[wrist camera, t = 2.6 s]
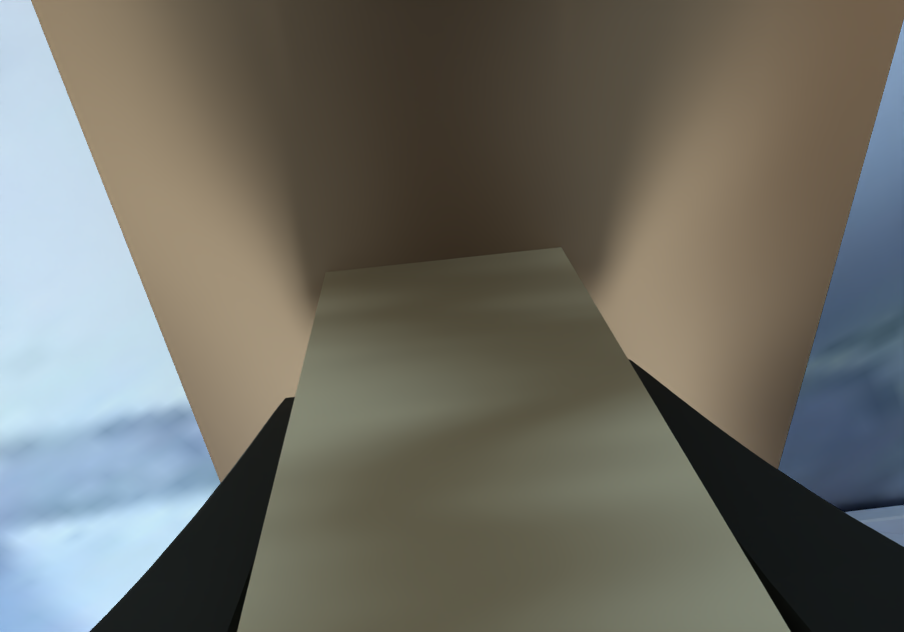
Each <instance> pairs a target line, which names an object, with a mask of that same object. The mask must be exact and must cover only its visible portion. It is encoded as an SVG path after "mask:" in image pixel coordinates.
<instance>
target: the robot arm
mask: <svg viewBox="0 0 904 632" xmlns="http://www.w3.org/2000/svg"><path fill="white" fill-rule="evenodd" d="M628 360H629V362H630V363H631V365H632V367H633V368H634V370H635V372H636V373H637V375H638V377H639V378H640V380H641V382H642V383H643V385H644V387H645V388H646V390H647V392H648V393H649V395H650V397H651V398H652V400H653V402H654V403H655V405H656V407H657V408H658V410H659V412H660V413H661V415H662V417H663V418H664V420H665V422H666V423H667V425H668V427H669V429H670V430H671V432H672V434H673V435H674V437H675V439H676V440H677V442H678V444H679V445H680V447H681V449H682V450H683V452H684V454H685V455H686V457H687V459H688V460H689V462H690V464H691V465H692V467H693V469H694V470H695V472H696V474H697V475H698V477H699V479H700V480H701V482H702V484H703V485H704V487H705V489H706V490H707V492H708V494H709V495H710V497H711V499H712V501H713V502H714V504H715V506H716V507H717V509H718V511H719V512H720V514H721V516H722V517H723V519H724V521H725V522H726V524H727V526H728V527H729V529H730V531H731V532H732V534H733V536H734V537H735V539H736V541H737V542H738V544H739V546H740V547H741V549H742V551H743V552H744V554H745V556H746V557H747V559H748V561H749V562H750V564H751V566H752V567H753V569H754V571H755V573H756V574H757V576H758V578H759V579H760V581H761V583H762V584H763V586H764V588H765V589H766V591H767V593H768V594H769V596H770V598H771V599H772V601H773V603H774V604H775V606H776V608H777V609H778V611H779V613H780V614H781V616H782V618H783V619H784V621H785V623H786V624H787V626H788V628H789V629H790V631H791V632H904V505H899V506H890V507H882V508H874V509H865V510H857V511H849V512H843V511H841V510H840V509H838V508H837V507H835V506H833V505H832V504H830V503H828V502H827V501H825V500H824V499H822V498H820V497H819V496H817V495H816V494H814V493H813V492H811V491H810V490H808V489H807V488H805V487H804V486H802V485H801V484H799V483H798V482H796V481H795V480H793V479H792V478H790V477H789V476H787V475H785V474H784V473H782V472H781V471H779V470H778V469H776V468H775V467H773V466H772V465H770V464H769V463H768V462H766V461H765V460H763V459H762V458H760V457H759V456H757V455H756V454H755V453H753V452H752V451H750V450H749V449H747V448H746V447H745V446H743V445H742V444H741V443H739V442H738V441H736V440H735V439H734V438H732V437H731V436H729V435H728V434H727V433H725V432H724V431H723V430H721V429H720V428H719V427H717V426H716V425H715V424H713V423H712V422H711V421H709V420H708V419H707V418H705V417H704V416H703V415H701V414H700V413H699V412H697V411H696V410H695V409H693V408H692V407H691V406H690V405H688V404H687V403H686V402H684V401H683V400H682V399H681V398H679V397H678V396H677V395H675V394H674V393H673V392H672V391H670V390H669V389H668V388H666V387H665V386H664V385H663V384H661V383H660V382H659V381H658V380H656V379H655V378H654V377H652V376H651V375H650V374H649V373H647V372H646V371H645V370H643V369H642V368H641V367H640V366H638V365H637V364H636V363H634V362H633V361H632V360H630V359H628ZM294 399H295V397H290V398H285V399H284V400H283V401H282V403H281V404H280V405H279V406H278V407H277V409H276V410H275V411H274V413H273V414H272V415H271V417H270V418H269V420H268V421H267V422H266V424H265V425H264V426H263V428H262V429H261V430H260V432H259V433H258V435H257V436H256V437H255V439H254V440H253V441H252V443H251V444H250V445H249V447H248V448H247V449H246V451H245V452H244V453H243V455H242V456H241V457H240V459H239V460H238V461H237V463H236V464H235V465H234V467H233V468H232V469H231V471H230V472H229V473H228V474H227V476H226V477H225V478H224V479H223V481H222V482H221V483H220V485H219V486H218V487H217V488H216V490H215V491H214V492H213V494H212V495H211V496H210V497H209V499H208V500H207V501H206V502H205V504H204V505H203V506H202V507H201V509H200V510H199V511H198V512H197V514H196V515H195V516H194V517H193V518H192V520H191V521H190V522H189V523H188V524H187V526H186V527H185V528H184V529H183V530H182V531H181V532H180V534H179V535H178V536H177V537H176V538H175V539H174V541H173V542H172V543H171V544H170V545H169V546H168V548H167V549H166V550H165V551H164V552H163V553H162V555H161V556H160V557H159V558H158V559H157V560H156V562H155V563H154V564H153V565H152V566H151V567H150V568H149V570H148V571H147V572H146V573H145V574H144V575H143V576H142V577H141V578H140V579H139V581H138V582H137V583H136V584H135V585H134V586H133V587H132V588H131V589H130V590H129V591H128V592H127V594H126V595H125V596H124V597H123V598H122V599H121V600H120V601H119V602H118V603H117V604H116V605H115V606H114V607H113V608H112V609H111V610H110V612H109V613H108V614H107V615H106V616H105V617H104V618H103V619H102V620H101V621H100V622H99V623H98V624H97V625H96V626H95V627H94V628H93V629H92V630H91V631H90V632H237V630H238V626H239V622H240V618H241V614H242V610H243V605H244V601H245V597H246V593H247V589H248V585H249V581H250V577H251V573H252V569H253V565H254V561H255V557H256V553H257V549H258V545H259V541H260V537H261V532H262V528H263V524H264V520H265V516H266V512H267V508H268V504H269V500H270V496H271V492H272V488H273V484H274V480H275V476H276V472H277V468H278V464H279V459H280V455H281V451H282V447H283V443H284V439H285V435H286V431H287V427H288V423H289V419H290V415H291V411H292V407H293V403H294Z"/></svg>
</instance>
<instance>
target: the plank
mask: <svg viewBox="0 0 904 632" xmlns="http://www.w3.org/2000/svg"><path fill="white" fill-rule="evenodd" d="M31 1H32V4H33V6H34V9H35V12H36V14H37V17H38V19H39V22H40V24H41V27H42V29H43V32H44V34H45V37H46V40H47V42H48V45H49V47H50V50H51V52H52V55H53V57H54V60H55V62H56V65H57V68H58V70H59V73H60V75H61V78H62V80H63V83H64V85H65V88H66V90H67V93H68V96H69V98H70V101H71V103H72V106H73V108H74V111H75V113H76V116H77V118H78V121H79V123H80V126H81V129H82V131H83V134H84V136H85V139H86V141H87V144H88V146H89V149H90V151H91V154H92V157H93V159H94V162H95V164H96V167H97V169H98V172H99V174H100V177H101V179H102V182H103V185H104V187H105V190H106V192H107V195H108V197H109V200H110V202H111V205H112V207H113V210H114V213H115V215H116V218H117V220H118V223H119V225H120V228H121V230H122V233H123V235H124V238H125V241H126V243H127V246H128V248H129V251H130V253H131V256H132V258H133V261H134V263H135V266H136V269H137V271H138V274H139V276H140V279H141V281H142V284H143V286H144V289H145V291H146V294H147V297H148V299H149V302H150V304H151V307H152V309H153V312H154V314H155V317H156V319H157V322H158V325H159V327H160V330H161V332H162V335H163V337H164V340H165V342H166V345H167V347H168V350H169V352H170V355H171V358H172V360H173V363H174V365H175V368H176V370H177V373H178V375H179V378H180V380H181V383H182V386H183V388H184V391H185V393H186V396H187V398H188V401H189V403H190V406H191V408H192V411H193V414H194V416H195V419H196V421H197V424H198V426H199V429H200V431H201V434H202V436H203V439H204V442H205V444H206V447H207V449H208V452H209V454H210V457H211V459H212V462H213V464H214V467H215V470H216V472H217V475H218V477H219V480H220V482H222V481H223V479H224V478H225V477H226V476H227V474H228V473H229V472H230V471H231V469H232V468H233V467H234V465H235V464H236V463H237V461H238V460H239V459H240V457H241V456H242V455H243V453H244V452H245V451H246V449H247V448H248V447H249V445H250V444H251V443H252V441H253V440H254V439H255V437H256V436H257V435H258V433H259V432H260V430H261V429H262V428H263V426H264V425H265V424H266V422H267V421H268V420H269V418H270V417H271V415H272V414H273V413H274V411H275V410H276V409H277V407H278V406H279V405H280V404H281V403H282V401H283V400H284V399H285V398H290V397H295V395H296V391H297V386H298V382H299V378H300V374H301V370H302V366H303V362H304V358H305V354H306V350H307V346H308V342H309V338H310V334H311V330H312V326H313V322H314V318H315V313H316V309H317V305H318V301H319V297H320V293H321V289H322V285H323V281H324V277H325V273H326V272H333V271H343V270H352V269H361V268H371V267H380V266H390V265H399V264H408V263H418V262H427V261H436V260H446V259H455V258H465V257H474V256H483V255H493V254H502V253H511V252H521V251H530V250H540V249H549V248H558V247H561V248H562V249H563V251H564V253H565V254H566V256H567V258H568V259H569V261H570V263H571V264H572V266H573V268H574V269H575V271H576V273H577V274H578V276H579V278H580V280H581V281H582V283H583V285H584V286H585V288H586V290H587V291H588V293H589V295H590V296H591V298H592V300H593V301H594V303H595V305H596V306H597V308H598V310H599V311H600V313H601V315H602V316H603V318H604V320H605V321H606V323H607V325H608V326H609V328H610V330H611V331H612V333H613V335H614V336H615V338H616V340H617V341H618V343H619V345H620V346H621V348H622V350H623V352H624V353H625V355H626V357H627V358H628V359H630V360H632V361H633V362H634V363H636V364H637V365H638V366H640V367H641V368H642V369H643V370H645V371H646V372H647V373H649V374H650V375H651V376H652V377H654V378H655V379H656V380H658V381H659V382H660V383H661V384H663V385H664V386H665V387H666V388H668V389H669V390H670V391H672V392H673V393H674V394H675V395H677V396H678V397H679V398H681V399H682V400H683V401H684V402H686V403H687V404H688V405H690V406H691V407H692V408H693V409H695V410H696V411H697V412H699V413H700V414H701V415H703V416H704V417H705V418H707V419H708V420H709V421H711V422H712V423H713V424H715V425H716V426H717V427H719V428H720V429H721V430H723V431H724V432H725V433H727V434H728V435H729V436H731V437H732V438H734V439H735V440H736V441H738V442H739V443H741V444H742V445H743V446H745V447H746V448H747V449H749V450H750V451H752V452H753V453H755V454H756V455H757V456H759V457H760V458H762V459H763V460H765V461H766V462H768V463H769V464H770V465H772V466H773V467H775V468H776V469H778V467H779V464H780V460H781V456H782V453H783V449H784V446H785V442H786V439H787V435H788V431H789V428H790V424H791V421H792V417H793V413H794V410H795V406H796V403H797V399H798V396H799V392H800V388H801V385H802V381H803V378H804V374H805V371H806V367H807V363H808V360H809V356H810V353H811V349H812V345H813V342H814V338H815V335H816V331H817V328H818V324H819V320H820V317H821V313H822V310H823V306H824V303H825V299H826V295H827V292H828V288H829V285H830V281H831V277H832V274H833V270H834V267H835V263H836V260H837V256H838V252H839V249H840V245H841V242H842V238H843V235H844V231H845V227H846V224H847V220H848V217H849V213H850V209H851V206H852V202H853V199H854V195H855V192H856V188H857V184H858V181H859V177H860V174H861V170H862V167H863V163H864V159H865V156H866V152H867V149H868V145H869V141H870V138H871V134H872V131H873V127H874V124H875V120H876V116H877V113H878V109H879V106H880V102H881V99H882V95H883V91H884V88H885V84H886V81H887V77H888V73H889V70H890V66H891V63H892V59H893V56H894V52H895V48H896V45H897V41H898V38H899V34H900V31H901V27H902V23H903V20H904V0H31Z"/></svg>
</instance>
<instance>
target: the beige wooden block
mask: <svg viewBox="0 0 904 632" xmlns="http://www.w3.org/2000/svg"><path fill="white" fill-rule="evenodd" d="M237 632H791V631H790V629H789V628H788V626H787V624H786V623H785V621H784V619H783V618H782V616H781V614H780V613H779V611H778V609H777V608H776V606H775V604H774V603H773V601H772V599H771V598H770V596H769V594H768V593H767V591H766V589H765V588H764V586H763V584H762V583H761V581H760V579H759V578H758V576H757V574H756V573H755V571H754V569H753V567H752V566H751V564H750V562H749V561H748V559H747V557H746V556H745V554H744V552H743V551H742V549H741V547H740V546H739V544H738V542H737V541H736V539H735V537H734V536H733V534H732V532H731V531H730V529H729V527H728V526H727V524H726V522H725V521H724V519H723V517H722V516H721V514H720V512H719V511H718V509H717V507H716V506H715V504H714V502H713V501H712V499H711V497H710V495H709V494H708V492H707V490H706V489H705V487H704V485H703V484H702V482H701V480H700V479H699V477H698V475H697V474H696V472H695V470H694V469H693V467H692V465H691V464H690V462H689V460H688V459H687V457H686V455H685V454H684V452H683V450H682V449H681V447H680V445H679V444H678V442H677V440H676V439H675V437H674V435H673V434H672V432H671V430H670V429H669V427H668V425H667V423H666V422H665V420H664V418H663V417H662V415H661V413H660V412H659V410H658V408H657V407H656V405H655V403H654V402H653V400H652V398H651V397H650V395H649V393H648V392H647V390H646V388H645V387H644V385H643V383H642V382H641V380H640V378H639V377H638V375H637V373H636V372H635V370H634V368H633V367H632V365H631V363H630V362H629V360H628V358H627V357H626V355H625V353H624V352H623V350H622V348H621V346H620V345H619V343H618V341H617V340H616V338H615V336H614V335H613V333H612V331H611V330H610V328H609V326H608V325H607V323H606V321H605V320H604V318H603V316H602V315H601V313H600V311H599V310H598V308H597V306H596V305H595V303H594V301H593V300H592V298H591V296H590V295H589V293H588V291H587V290H586V288H585V286H584V285H583V283H582V281H581V280H580V278H579V276H578V274H577V273H576V271H575V269H574V268H573V266H572V264H571V263H570V261H569V259H568V258H567V256H566V254H565V253H564V251H563V249H562V248H561V247H558V248H549V249H540V250H530V251H521V252H511V253H502V254H493V255H483V256H474V257H465V258H455V259H446V260H436V261H427V262H418V263H408V264H399V265H390V266H380V267H371V268H361V269H352V270H343V271H333V272H326V273H325V277H324V281H323V285H322V289H321V293H320V297H319V301H318V305H317V309H316V313H315V318H314V322H313V326H312V330H311V334H310V338H309V342H308V346H307V350H306V354H305V358H304V362H303V366H302V370H301V374H300V378H299V382H298V386H297V391H296V395H295V399H294V403H293V407H292V411H291V415H290V419H289V423H288V427H287V431H286V435H285V439H284V443H283V447H282V451H281V455H280V459H279V464H278V468H277V472H276V476H275V480H274V484H273V488H272V492H271V496H270V500H269V504H268V508H267V512H266V516H265V520H264V524H263V528H262V532H261V537H260V541H259V545H258V549H257V553H256V557H255V561H254V565H253V569H252V573H251V577H250V581H249V585H248V589H247V593H246V597H245V601H244V605H243V610H242V614H241V618H240V622H239V626H238V630H237Z"/></svg>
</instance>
